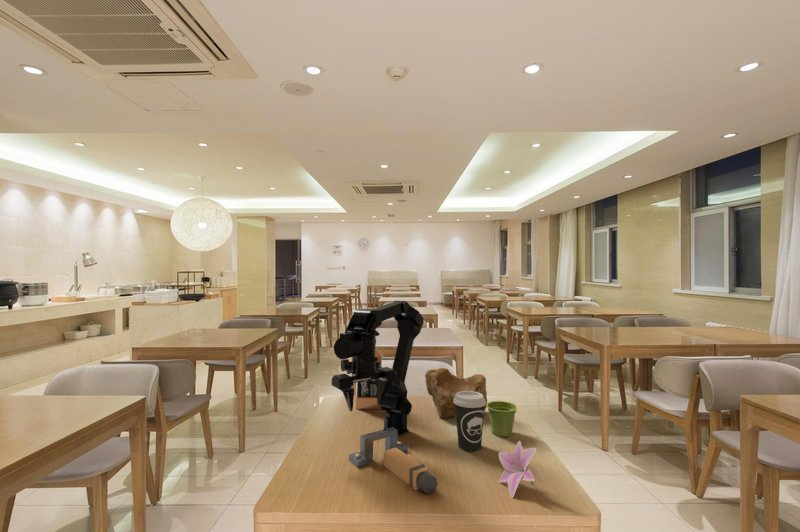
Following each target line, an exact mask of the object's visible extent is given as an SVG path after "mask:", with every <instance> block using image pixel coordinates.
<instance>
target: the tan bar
mask: <svg viewBox="0 0 800 532" xmlns="http://www.w3.org/2000/svg"><path fill="white" fill-rule="evenodd" d="M383 466H384V467H385V468H387V469H388V471H390V472H391V473H393V474H394V475H395V476H397V477H398V478H399V479H401V480H402V481H403V482H405V483H406V484H408V486H409V487H411V488H412V489H414V490H415V491H418V490H421V491H422V492H423V493H425V494H427V495H431V494H433V493H434V492H435V490H436V489H437V485H438V480H437V477H435V476H434V475H432V474H430V469H429V468H428V467H427V466H426V465H424V464H422V463H420V462H419V461H418V460H416V459H414V458H413V457H412V456H410V455H408V454H406V452H402V451H401V450H399V449H398V448H392V449H389V450H386V451H385V450H384V451H383Z"/></svg>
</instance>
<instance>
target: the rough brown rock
mask: <svg viewBox="0 0 800 532" xmlns="http://www.w3.org/2000/svg"><path fill="white" fill-rule="evenodd" d="M424 377H425V385H426V390H427V394H428V395H429V396H431V398H432V401H433V403H434V406H435V407H436V410H437V414H438V417H439V418H440V419H444V418H445V419H446V418H447V419H448V418H452V417H456V411H455V404H454V403H453V399H454V397H455V396H456V393H458V392H461V391H474V392H478V393H481V394H482V395H483V397H484V399H485V401H486V405H485V406H484V412H485V411H486V409H487V403H488V397H487V378H486V376H485V375H482V374H478V373H476V374H473V375H471V376H468V377H466V378H464V377H461V376H457V375H455V374H453V373H451V372H450V370H449V369H447V368H444V367H440V368H437V369H435V368H434V369H429V370H427V371H426V373H425V375H424Z"/></svg>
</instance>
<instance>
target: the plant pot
mask: <svg viewBox="0 0 800 532" xmlns="http://www.w3.org/2000/svg"><path fill="white" fill-rule="evenodd" d="M486 409H487V410H488V413H489V419H490V420H489V421H490V426H491V432H492V433H493V435H495V436H497V437H501V438H504V437H510V436H511V437H512V435H513V428H514V423H515V422H514V421H515V415H516V412H517V410H518V406H517V405H516V404H514V403H512V402H510V401H505V400H503V401H502V400H494V401H489V402H487V407H486Z"/></svg>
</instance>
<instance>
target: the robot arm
mask: <svg viewBox="0 0 800 532" xmlns="http://www.w3.org/2000/svg"><path fill="white" fill-rule="evenodd" d="M392 318H394V320H395V321H396V322H397V327H396V328H397V331H398V334H399V339H398V340H397V341H398V342H397V346H396V351H395V355H394V359H393V362H392V368H391V367H388V366H384V367H382V368H377V370H376V371H375V361H378V357H375V347H376V345H375V337H379V336H380V333H379V331H377V330H376V329H377V328H379V327H380V326H382V323H383V322H384V321H387V320H389V319H392ZM424 321H425V320H424V317H423V316H422V314H421V313H420V311H419V310H418V309H416V308H414V307H413V306H411V305H410V304H409V302H408V301H406V300H394V301H392V302H390V303H387V304H383V305H381V306H378V307H375V308H358V309H355V310H354V311H353V314H352V315H351V317H350V319H349V321H348V324H347V326H346V327H345V330H344V332H342V333H341V332H340V333H339V338H337V339H336V340H335V342H334V345H333V352H334V355H335V356H336V358H338V359H339V360H340V371H341V372H346V373H340V374H334V375H333V377H332V378H331V386H332V387H334V388H336V389H338V390H340V391H341V392H342V394H343V397H344V398H345V402H346V405H347V408H348V411H350V412H353V410H354V409H353V408H354V397H355V396H354V395H355V388H353V386H354V384H355V383H357V382H362V381H367V380H373V379H376V383H377V404H378V405H381V409H380V410H381V411H382V412H385V416H384V417H383V419H384V420H383V428H382V430H384V429H387V428H391V427H393V428H395V429H397V430H398V435H402V434H407V433H410V430H409V428H408V415H410V413H411V412H412V409H413V408H412V406H413V405H412V403H411V402H410V400H409V398H408V389H407V385H406V379H407V378H406V376H407V373H408V368H409V364H410V360H411V354H412V350H413V345H414V340H415V339H416V338H417V337H418V335H420V333H421V332H422V327H423V325H424V323H425V322H424ZM349 358H350V359H351V358H352V361H350V360H349Z"/></svg>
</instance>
